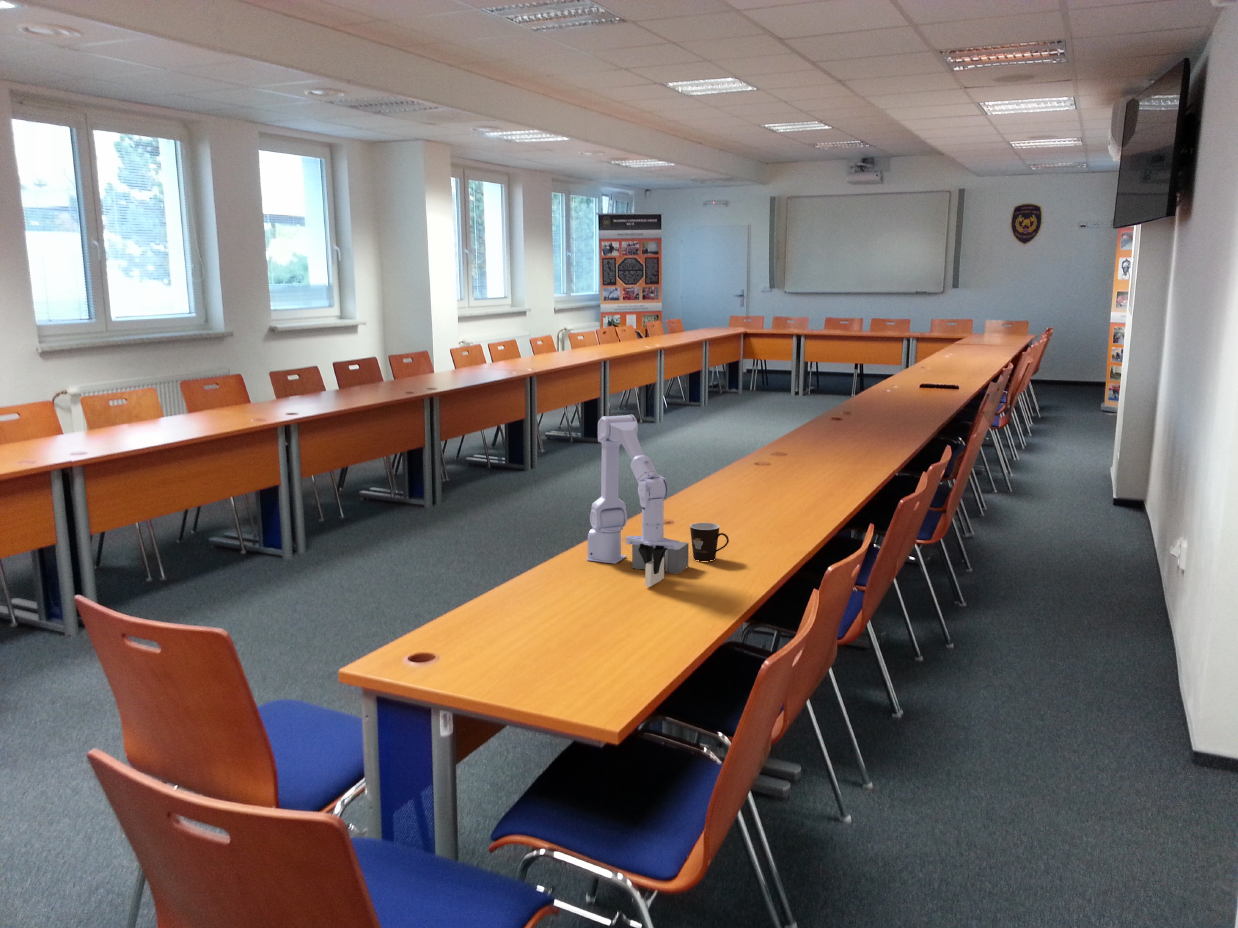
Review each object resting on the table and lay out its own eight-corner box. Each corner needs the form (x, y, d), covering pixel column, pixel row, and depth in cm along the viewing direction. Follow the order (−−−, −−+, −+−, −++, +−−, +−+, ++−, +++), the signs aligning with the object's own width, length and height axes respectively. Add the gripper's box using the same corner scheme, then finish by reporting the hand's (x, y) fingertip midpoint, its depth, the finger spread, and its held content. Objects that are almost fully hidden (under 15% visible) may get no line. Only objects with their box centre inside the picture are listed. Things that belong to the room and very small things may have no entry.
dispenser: (631, 569, 263) (631, 545, 262) (642, 561, 271) (642, 537, 270) (677, 574, 257) (678, 550, 256) (688, 566, 265) (688, 542, 264)
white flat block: (645, 585, 245) (645, 563, 245) (658, 578, 254) (659, 556, 254) (650, 586, 245) (650, 564, 244) (663, 578, 254) (664, 557, 253)
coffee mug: (684, 557, 274) (684, 524, 273) (708, 553, 278) (709, 521, 276) (705, 567, 264) (705, 533, 262) (730, 563, 268) (731, 529, 266)
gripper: (621, 523, 245) (621, 573, 247) (673, 528, 239) (673, 579, 241) (631, 518, 251) (632, 566, 253) (682, 522, 245) (682, 572, 248)
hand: (652, 572), depth 248 cm, fingers closed on white flat block
